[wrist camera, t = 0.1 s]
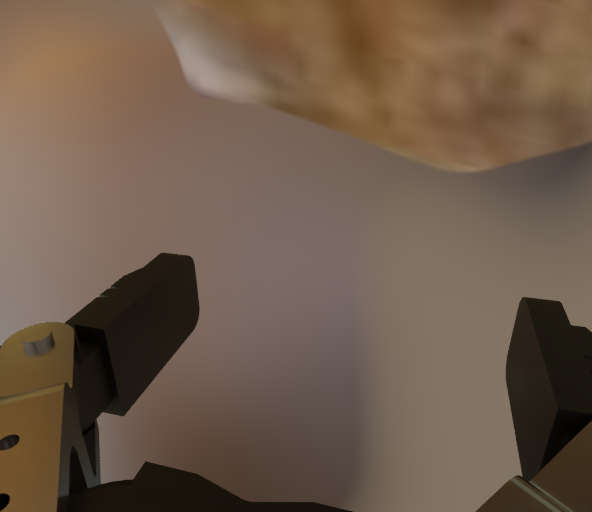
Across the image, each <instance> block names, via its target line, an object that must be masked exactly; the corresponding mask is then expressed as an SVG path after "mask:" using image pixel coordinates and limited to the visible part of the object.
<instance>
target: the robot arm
mask: <svg viewBox="0 0 592 512" xmlns="http://www.w3.org/2000/svg"><path fill="white" fill-rule="evenodd" d="M198 317H199V299H198V291H197V282H196V273H195V266H194V261H193V259H192V258H191V257H190V256H187V255H178V254H171V253H161V254H159V255H158V256H157V257H156V258H154V259H153V260H152V261H151V262H149V263H148V264H147V265H146V266H144V267H143V268H141V269H139V270H136V271H134V272H132V273H130V274H128V275H125V276H123V277H122V278H121V279H119V280H118V281H117V282H116V283H114V284H113V285H112V286H111V288H110V289H107V290H106V291H104V292H103V293H102V294H100V297H97V298H95V299H94V300H93V301H92V302H91V303H89V304H88V305H87V306H86V307H84V308H83V309H82V310H80V311H79V312H78V313H77V314H75V315H74V316H73V317H71V318H70V319H69V320H68V321H66V322H65V323H60V322H46V323H40V324H36V325H33V326H30V327H27V328H24V329H22V330H20V331H18V332H17V333H15V334H13V335H11V336H10V337H9V338H8V339H7V340H6V341H5V342H4V343H3V344H2V346H0V512H352V511H348V510H343V509H339V508H335V507H331V506H327V505H323V504H319V503H315V502H249V501H245V500H243V499H241V498H239V497H238V496H236V495H234V494H232V493H230V492H228V491H227V490H225V489H223V488H221V487H220V486H218V485H216V484H214V483H212V482H211V481H209V480H207V479H205V478H203V477H202V476H200V475H198V474H195V473H191V472H186V471H183V470H179V469H174V468H170V467H166V466H162V465H158V464H154V463H150V462H145V463H144V465H143V466H142V467H141V469H140V470H139V472H138V473H137V475H136V476H135V478H134V479H133V480H122V481H114V482H109V483H105V484H101V475H100V448H99V447H100V446H99V428H98V423H97V418H98V417H99V415H100V414H101V413H102V412H105V413H110V414H115V415H119V416H124V415H125V414H126V412H127V411H128V410H129V409H130V408H131V407H132V405H133V404H134V403H135V402H136V400H137V399H138V398H139V397H140V396H141V394H142V393H143V392H144V391H145V389H146V388H147V387H148V386H149V384H150V383H151V382H152V381H153V379H154V378H155V377H156V376H157V374H158V373H159V372H160V371H161V370H162V368H163V367H164V366H165V365H166V363H167V362H168V361H169V360H170V359H171V357H172V356H173V355H174V354H175V352H176V351H177V350H178V349H179V348H180V346H181V345H182V344H183V343H184V341H185V340H186V339H187V338H188V336H189V335H190V334H191V333H192V332H193V330H194V329H195V327H196V324H197V322H198ZM506 383H507V388H508V395H509V400H510V406H511V412H512V417H513V424H514V429H515V435H516V441H517V447H518V452H519V458H520V464H521V470H522V475H523V477H521V476H515V477H513V478H512V479H510V480H509V481H508V482H506V483H505V484H504V485H503V486H502V487H501V488H500V489H499V490H498V491H497V492H496V493H495V494H494V495H493V496H492V497H491V498H489V499H488V500H487V501H486V502H485V503H484V504H483V505H482V506H481V507H480V508H479V509H478V510H477V511H476V512H592V332H591V331H589V330H588V329H587V328H586V327H580V326H572V325H571V324H570V322H569V320H568V317H567V315H566V312H565V310H564V308H563V305H562V303H561V302H559V301H553V300H543V299H536V298H528V297H523V298H522V299H521V301H520V303H519V307H518V311H517V316H516V320H515V324H514V329H513V333H512V337H511V342H510V346H509V350H508V355H507V363H506Z"/></svg>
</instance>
